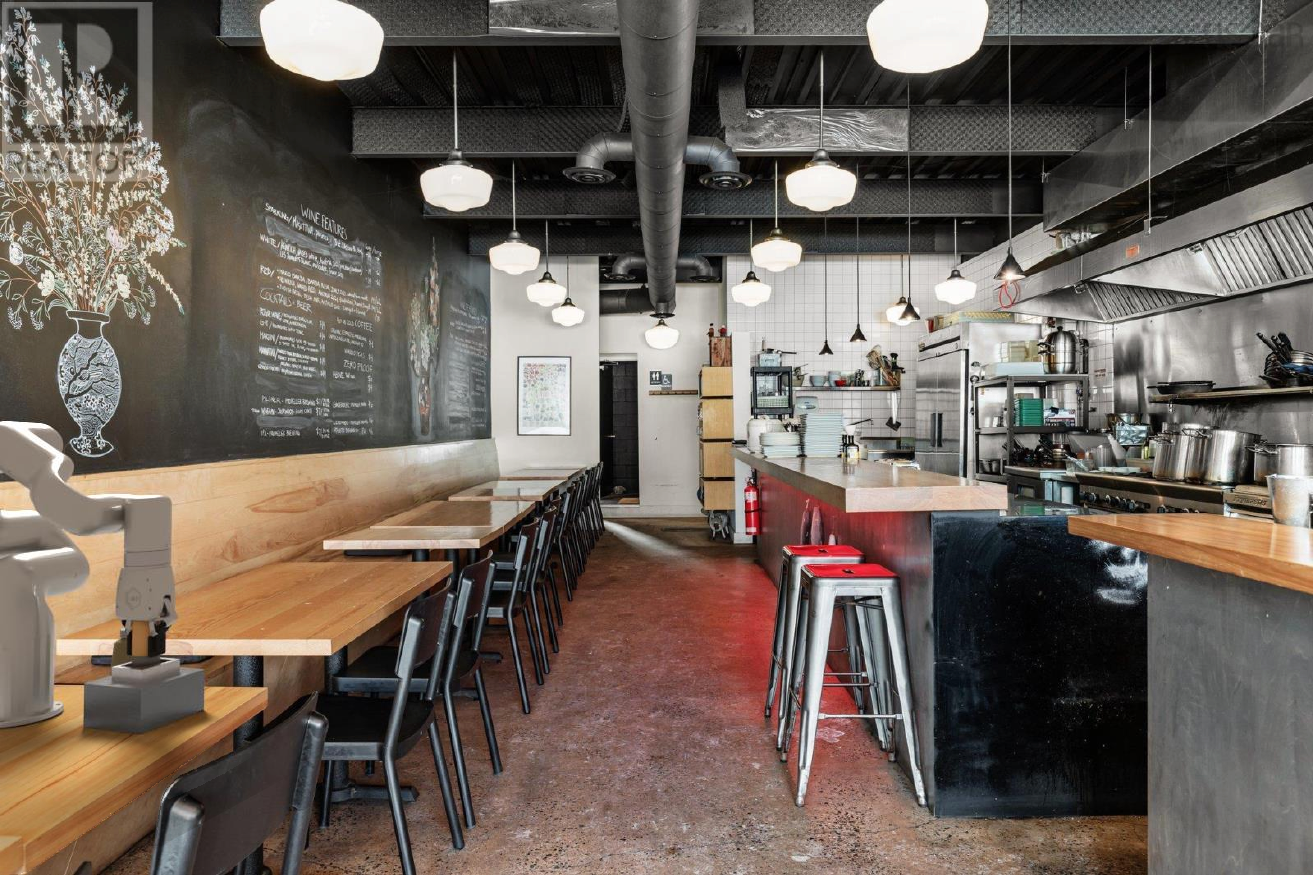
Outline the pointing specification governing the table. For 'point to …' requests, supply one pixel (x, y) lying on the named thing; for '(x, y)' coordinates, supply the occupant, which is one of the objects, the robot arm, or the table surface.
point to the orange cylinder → (142, 645)
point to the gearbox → (143, 697)
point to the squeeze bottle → (120, 651)
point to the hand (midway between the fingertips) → (146, 653)
